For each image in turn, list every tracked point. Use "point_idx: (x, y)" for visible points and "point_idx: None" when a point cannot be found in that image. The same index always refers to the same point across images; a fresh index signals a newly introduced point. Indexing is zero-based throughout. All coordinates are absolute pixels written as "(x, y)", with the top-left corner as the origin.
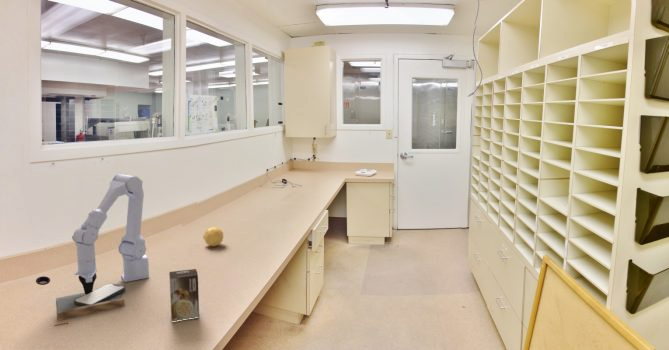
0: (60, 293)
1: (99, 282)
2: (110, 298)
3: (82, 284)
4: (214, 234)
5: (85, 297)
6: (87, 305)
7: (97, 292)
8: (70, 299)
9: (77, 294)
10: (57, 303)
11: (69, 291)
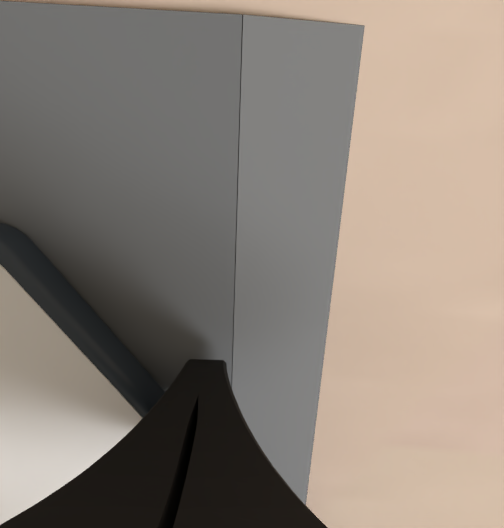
0: (496, 93)
1: (499, 478)
2: None
3: (86, 471)
4: None
5: (15, 362)
6: None
7: None
8: (179, 192)
9: (315, 276)
10: (122, 17)
11: (479, 203)
